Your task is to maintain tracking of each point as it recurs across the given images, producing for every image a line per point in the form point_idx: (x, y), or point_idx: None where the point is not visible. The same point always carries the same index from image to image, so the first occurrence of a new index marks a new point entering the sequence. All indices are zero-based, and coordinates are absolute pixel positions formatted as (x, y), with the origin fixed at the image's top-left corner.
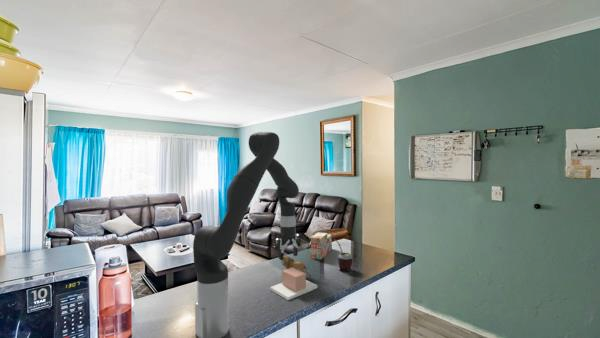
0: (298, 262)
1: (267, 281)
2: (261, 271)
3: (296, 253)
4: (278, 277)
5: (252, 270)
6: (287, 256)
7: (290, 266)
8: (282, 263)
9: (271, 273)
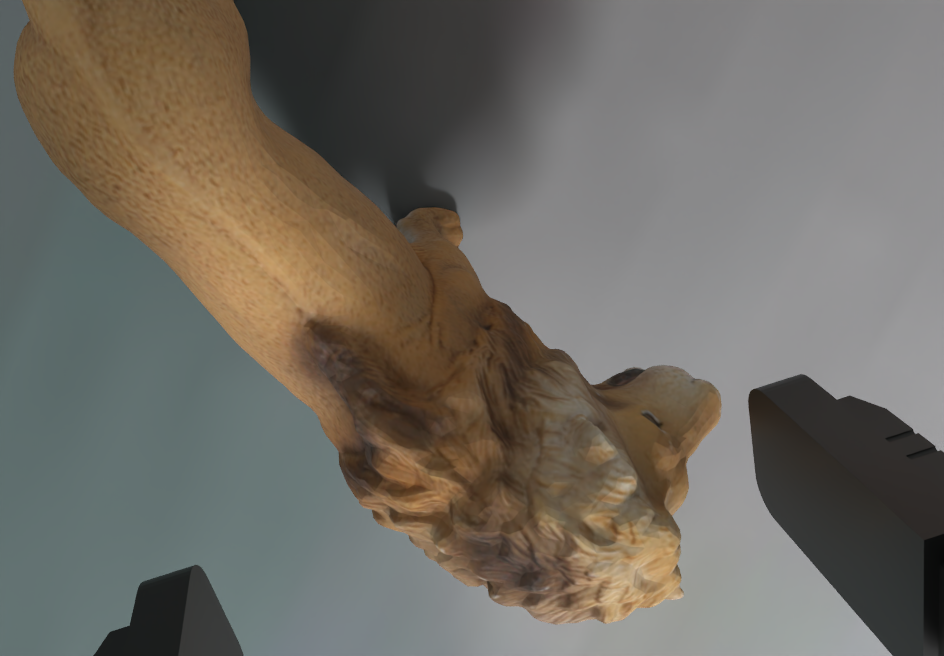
0: (229, 209)
1: (927, 150)
2: (787, 578)
3: (159, 633)
4: (673, 233)
5: (875, 650)
6: (549, 544)
7: (459, 275)
8: (687, 381)
9: None
